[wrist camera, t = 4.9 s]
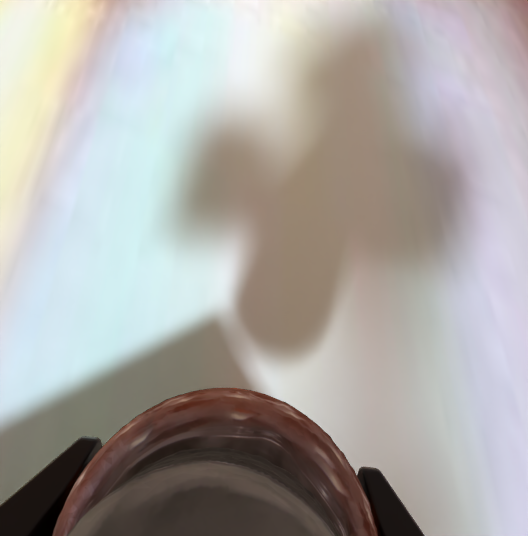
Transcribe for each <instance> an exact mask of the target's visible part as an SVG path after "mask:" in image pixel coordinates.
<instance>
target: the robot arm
mask: <svg viewBox="0 0 528 536" xmlns="http://www.w3.org/2000/svg"><path fill="white" fill-rule="evenodd" d="M101 448H102V443H101V440H100V439H99V438H96V437H87V436H84V437H81V438H79V439H78V440H77V441H76V442H74V443H73V444H72V445H71V446H70V447H69V448H67V449H66V450H65V451H64V452H63V453H61V454H60V455H59V456H58V457H57V458H56V459H54V460H53V461H52V462H51V463H50V464H49V465H47V466H46V467H45V468H44V469H43V470H41V471H40V472H39V473H38V474H37V475H36V476H34V477H33V478H32V479H31V480H30V481H29V482H27V483H26V484H25V485H24V486H23V487H22V488H20V489H19V490H18V491H17V492H16V493H14V494H13V495H12V496H11V497H10V498H9V499H7V500H6V501H5V502H4V503H3V504H2V505H0V536H52V535H53V531H54V528H55V525H56V522H57V520H58V517H59V515H60V513H61V511H62V509H63V507H64V505H65V502H66V500H67V498H68V496H69V494H70V492H71V490H72V488H73V486H74V484H75V482H76V481H77V479H78V477H79V476H80V475H81V473H82V472H83V470H84V469H85V468H86V466H87V465H88V464H89V462H90V461H91V460H92V459H93V457H94V456H95V455H96V454H97V452H98V451H99V450H100V449H101ZM357 478H358V480H359V481H360V484H361V486H362V488H363V490H364V492H365V494H366V496H367V498H368V501H369V503H370V509H371V513H372V516H373V518H374V523H375V526H376V528H377V535H378V536H425V535H424V534H423V533H422V531H421V530H420V528H419V527H418V525H417V524H416V522H415V521H414V519H413V518H412V517H411V515H410V514H409V512H408V511H407V509H406V508H405V506H404V505H403V503H402V502H401V500H400V499H399V498H398V496H397V495H396V493H395V492H394V490H393V489H392V487H391V486H390V484H389V483H388V482H387V480H386V479H385V477H384V476H383V474H382V473H381V471H380V470H378V469H377V468H370V467H361V468H360V469H359V472H358V475H357Z"/></svg>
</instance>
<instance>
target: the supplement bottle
mask: <svg viewBox="0 0 528 536" xmlns="http://www.w3.org/2000/svg"><path fill="white" fill-rule="evenodd" d="M52 536H378V535H377V528H376V526H375V523H374V518H373V516H372V513H371V509H370V503H369V501H368V498H367V496H366V494H365V492H364V490H363V488H362V486H361V484H360V481H359V480H358V478H357V476H356V474H355V471H354V470H353V468H352V467H351V466H350V464H349V462H348V461H347V459H346V457H345V455H344V454H343V452H342V451H340V449H339V448H338V447H337V446H336V444H335V443H334V442H333V440H332V439H331V437H330V436H329V435H328V434H327V433H325V432H324V431H323V430H322V429H321V428H320V426H318V425H317V424H316V423H314V422H313V421H312V420H311V419H309V418H308V417H307V416H306V415H304V414H303V413H302V412H300V411H298V410H297V409H295V408H294V407H292V406H290V405H289V404H288V403H286V402H283V401H280V400H278V399H275V398H273V397H271V396H268V395H265V394H262V393H258V392H255V391H251V390H245V389H237V388H211V389H204V390H198V391H193V392H189V393H186V394H183V395H178V396H176V397H173V398H170V399H167V400H165V401H163V402H161V403H160V404H158V405H156V406H154V407H152V408H150V409H148V410H146V411H145V412H143V413H142V414H140V415H138V416H137V417H135V418H134V419H133V420H132V421H131V422H130V423H128V424H127V425H125V426H123V427H122V428H121V429H120V430H119V431H118V432H117V433H116V434H115V435H114V436H113V437H112V438H111V439H110V440H109V441H108V442H107V443H106V444H105V445H104V446H103V447H102V448H101V449H100V450H99V451H98V452H97V454H96V455H95V456H94V457H93V459H92V460H91V461H90V462H89V464H88V465H87V466H86V468H85V469H84V470H83V472H82V473H81V475H80V476H79V477H78V479H77V481H76V482H75V484H74V486H73V488H72V490H71V492H70V494H69V496H68V498H67V500H66V502H65V505H64V507H63V509H62V511H61V513H60V515H59V517H58V520H57V522H56V525H55V528H54V531H53V535H52Z"/></svg>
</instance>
